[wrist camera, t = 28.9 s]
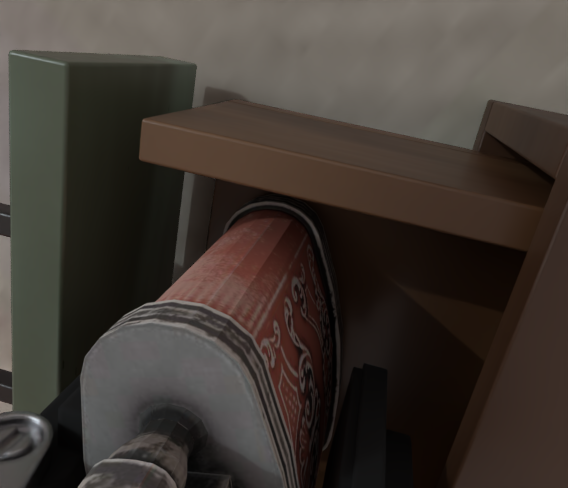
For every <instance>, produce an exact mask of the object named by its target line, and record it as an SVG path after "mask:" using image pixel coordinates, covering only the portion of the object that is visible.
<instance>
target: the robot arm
mask: <svg viewBox="0 0 568 488" xmlns="http://www.w3.org/2000/svg"><path fill="white" fill-rule="evenodd" d="M387 374H388V372H387V369H385V368H381V367H377V366H374V365H370V364H366V363H364V364H363V367H362V369H361V368H357V367H353V370H352V373H351V377H350V381H349V384H348V388H347V391H346V395H345V399H344V402H343V406H342V409H341V413H340V417H339V420H338V424H337V427H336V431H335V435H334V438H333V442H332V445H331V449H330V453H329V456H328V460H327V465H326V470H325V475H324V481H323V487H322V488H414V486H413V465H412V443H411V437H410V436H409V435H406V434H402V433H399V432H395V431H392V430H389V429H386V420H387ZM80 377H81V374H80V375H79V376H78V377H77V378H76V379H75V380H74V381H73V382H72V383H71V384H70V385H69V386H68V387H67V388H66V389H65V390H64V391H63V392H62V393H61V394H59V395H58V396H57V397H56V398H55V399H54V400H53V401H52V402H51V403H50V404H49V405H48V406H47V407H46V408H45V409H44V410H43V411H42V412H41V413H40V414H37V413H33V412H30V411H11V412H4V413H1V414H0V488H78V486H79V485H80V484H81V482H82V481H83V480H84V478H85V477H86V471H85V466H84V455H83V431H82V407H81V382H80Z"/></svg>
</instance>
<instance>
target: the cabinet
mask: <svg viewBox="0 0 568 488" xmlns="http://www.w3.org/2000/svg"><path fill="white" fill-rule="evenodd" d="M473 150H475V151H479V152H484V153H489V154H493V155H498V156H503V157H507V158H512V159H517V160H521V161H526V162H531V163H532V164H533V165H535V166H536V167H538V168H539V169H541V170H542V171H544V172H545V173H546V174H548V175H549V176H551V177H552V178H554V179H555V182H554V185H553V187H552V190H551V193H550V195H549V198H548V200H547V203H546V205H545V208H544V211H543V213H542V216H541V218H540V221H539V223H538V226H537V229H536V231H535V234H534V236H533V239H532V242H531V244H530V247H529V249H528V252H527V254H526V257H525V260H524V262H523V265H522V267H521V270H520V272H519V275H518V278H517V280H516V283H515V285H514V288H513V291H512V293H511V296H510V298H509V301H508V303H507V306H506V309H505V311H504V314H503V316H502V319H501V321H500V324H499V327H498V329H497V332H496V334H495V337H494V340H493V342H492V345H491V347H490V350H489V352H488V355H487V358H486V360H485V363H484V365H483V368H482V370H481V373H480V376H479V378H478V381H477V383H476V386H475V389H474V391H473V394H472V396H471V399H470V401H469V404H468V407H467V409H466V412H465V414H464V417H463V419H462V422H461V425H460V427H459V430H458V432H457V435H456V437H455V440H454V443H453V445H452V448H451V450H450V453H449V456H448V458H447V461H446V463H445V466H444V468H443V471H442V474H441V476H440V479H439V481H438V484H437V486H436V488H568V115H564V114H559V113H554V112H549V111H544V110H540V109H535V108H530V107H525V106H520V105H515V104H510V103H505V102H500V101H495V100H489V101H488V103H487V106H486V109H485V112H484V115H483V118H482V122H481V125H480V128H479V131H478V134H477V137H476V140H475V143H474V147H473Z"/></svg>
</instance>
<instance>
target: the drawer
mask: <svg viewBox="0 0 568 488" xmlns="http://www.w3.org/2000/svg"><path fill="white" fill-rule="evenodd" d="M196 69H197V66H196V64H194V63H190V62H185V61H181V60H176V59H171V58H166V57H161V56H141V55H119V54H96V53H74V52H51V51H29V50H12V51H10V52H9V139H10V205H6V204H2V203H0V235H3V236H7V237H11V316H12V372H9V371H6V370H3V369H0V401H2V402H5V403H9V404H12V405H13V411H30V412H33V413H37V414H40V413H41V412H42V411H43V410H44V409H45V408H46V407H47V406H48V405H49V404H50V403H51V402H52V401H53V400H54V399H55V398H56V397H57V396H58V395H59V394H61V393H62V392H63V391H64V390H65V389H66V388H67V387H68V386H69V385H70V384H71V383H72V382H73V381H74V380H75V379H76V378H77V377H78V376H79V375H80V374H81V372H82V367H83V362H84V357H85V356H86V355H87V353H88V352H89V351H90V350H91V348H92V347H93V346H94V344H95V343H96V342H97V341H98V339H99V338H100V337H101V336H103V335H104V334H105V333H106V332H107V331H108V330H109V329H110V328H111V327H112V326H113V325H114V324H115V323H117V322H118V321H119V320H120V319H121V318H122V317H123V316H124V315H125V314H127V313H129V312H131V311H133V310H135V309H137V308H139V307H141V306H142V305H144V304H146V303H152V302H156V301H157V300H158V299H159V298H160V297H161V296H162V295H163V294H164V293H165V292H166V291H167V290H168V289H169V288H170V287H171V285H172V276H173V267H174V259H175V250H176V241H177V233H178V224H179V216H180V207H181V198H182V190H183V181H184V172H189V173H193V174H197V175H202V176H206V177H210V178H214V179H216V181H215V188H214V195H213V202H212V209H211V217H210V224H209V231H208V238H207V245H206V251H207V250H208V249H209V248H210V247H211V246H212V245H213V244H214V243H215V242H216V241H217V240H218V239H219V238H220V237H221V236H223V232H224V229H225V226H226V223H227V222H228V221H229V220H230V219H231V217H232V216H233V215H234V214H235V213H236V212H237V211H238V210H239V209H240V208H241V207H242V206H243V205H244V204H246V203H248V202H249V201H251V200H253V199H255V198H256V197H260V196H265V195H270V194H279V195H286V196H290V197H294V198H296V199H299V200H301V201H303V202H305V203H306V204H307V205H308V206H310V207H311V208H312V209H313V210H314V211H315V212H316V213H317V215H318V217H319V219H320V221H321V223H322V225H323V227H324V231H325V235H326V239H327V243H328V247H329V250H330V254H331V258H332V262H333V266H334V270H335V273H336V277H337V285H338V293H339V300H340V308H341V316H342V323H343V354H342V379H341V385H340V391H339V397H338V403H337V409H336V415H335V420H334V426H333V432H332V438H331V440H330V442H329V444H328V447H327V448H326V449H325V450H323V451H322V454H321V460H320V465H319V471H318V476H317V481H316V487H315V488H322V487H323V481H324V475H325V470H326V465H327V460H328V456H329V453H330V449H331V445H332V442H333V438H334V435H335V431H336V427H337V424H338V420H339V417H340V413H341V409H342V406H343V402H344V399H345V395H346V391H347V388H348V384H349V381H350V377H351V373H352V370H353V367H357V368H361V369H362V367H363V364H364V363H366V364H370V365H374V366H377V367H381V368H385V369H387V372H388V374H387V420H386V429H389V430H392V431H395V432H399V433H402V434H406V435H409V436H410V437H411V443H412V465H413V486H414V488H436V486H437V484H438V481H439V479H440V476H441V474H442V471H443V468H444V466H445V463H446V461H447V458H448V456H449V453H450V450H451V448H452V445H453V443H454V440H455V437H456V435H457V432H458V430H459V427H460V425H461V422H462V419H463V417H464V414H465V412H466V409H467V407H468V404H469V401H470V399H471V396H472V394H473V391H474V389H475V386H476V383H477V381H478V378H479V376H480V373H481V370H482V368H483V365H484V363H485V360H486V358H487V355H488V352H489V350H490V347H491V345H492V342H493V340H494V337H495V334H496V332H497V329H498V327H499V324H500V321H501V319H502V316H503V314H504V311H505V309H506V306H507V303H508V301H509V298H510V296H511V293H512V291H513V288H514V285H515V283H516V280H517V278H518V275H519V272H520V270H521V267H522V265H523V262H524V260H525V257H526V254H527V252H528V249H529V247H530V244H531V242H532V239H533V236H534V234H535V231H536V229H537V226H538V223H539V221H540V218H541V216H542V213H543V211H544V208H545V205H546V203H547V200H548V198H549V195H550V193H551V190H552V187H553V185H554V182H555V179H554V178H552V177H551V176H549V175H548V174H546V173H545V172H544V171H542V170H541V169H539V168H538V167H536V166H535V165H533V164H532V163H531V162H526V161H521V160H517V159H512V158H507V157H503V156H498V155H493V154H489V153H484V152H479V151H475V150H470V149H466V148H461V147H456V146H452V145H447V144H442V143H438V142H433V141H428V140H424V139H419V138H414V137H410V136H405V135H400V134H396V133H391V132H386V131H382V130H377V129H372V128H368V127H363V126H358V125H354V124H349V123H345V122H340V121H335V120H331V119H326V118H321V117H317V116H312V115H307V114H303V113H298V112H293V111H289V110H284V109H279V108H275V107H270V106H265V105H261V104H256V103H251V102H247V101H242V100H237V99H235V100H230V101H226V102H221V103H216V104H211V105H207V106H202V107H197V108H192V103H193V95H194V86H195V77H196Z"/></svg>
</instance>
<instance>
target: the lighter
mask: <svg viewBox="0 0 568 488" xmlns="http://www.w3.org/2000/svg"><path fill="white" fill-rule="evenodd" d="M342 354H343V323H342V316H341V308H340V300H339V293H338V285H337V277H336V273H335V270H334V266H333V262H332V258H331V254H330V250H329V247H328V243H327V239H326V235H325V231H324V227H323V225H322V223H321V221H320V219H319V217H318V215H317V213H316V212H315V211H314V210H313V209H312V208H311V207H310V206H308V205H307V204H306V203H305V202H303V201H301V200H299V199H296V198H294V197H290V196H286V195H279V194H270V195H265V196H260V197H256V198H255V199H253V200H251V201H249V202H248V203H246V204H244V205H243V206H242V207H241V208H240V209H239V210H238V211H237V212H236V213H235V214H234V215H233V216H232V217H231V219H230V220H229V221H228V222H227V223H226V226H225V229H224V232H223V236H221V237H220V238H219V239H218V240H217V241H216V242H215V243H214V244H213V245H212V246H211V247H210V248H209V249H208V250H207V251H206V252H205V253H204V254H203V255H202V256H201V257H200V258H199V259H198V260H197V261H196V262H195V263H194V264H193V265H192V266H191V267H190V268H189V269H188V270H187V271H186V272H185V273H184V274H183V275H182V276H181V277H180V278H179V279H178V280H177V281H176V282H175V283H174V284H173V285H172V286H171V287H170V288H169V289H168V290H167V291H166V292H165V293H164V294H163V295H162V296H161V297H160V298H159V299H158V300H157V301H156V302H152V303H146V304H144V305H142V306H141V307H139V308H137V309H135V310H133V311H131V312H129V313H127V314H125V315H124V316H123V317H122V318H121V319H120V320H119V321H118V322H117V323H115V324H114V325H113V326H112V327H111V328H110V329H109V330H108V331H107V332H106V333H105V334H104V335H103V336H101V337H100V338H99V339H98V341H97V342H96V343H95V344H94V346H93V347H92V348H91V350H90V351H89V352H88V353H87V355H86V356H85V357H84V362H83V367H82V372H81V377H80V382H81V407H82V431H83V455H84V466H85V471H86V477H85V478H84V480H83V481H82V482H81V484H80V485H79V486H78V488H315V487H316V481H317V476H318V471H319V465H320V460H321V454H322V451H323V450H325V449H326V448H327V447H328V444H329V442H330V440H331V438H332V432H333V426H334V420H335V415H336V409H337V403H338V397H339V391H340V385H341V379H342Z"/></svg>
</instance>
